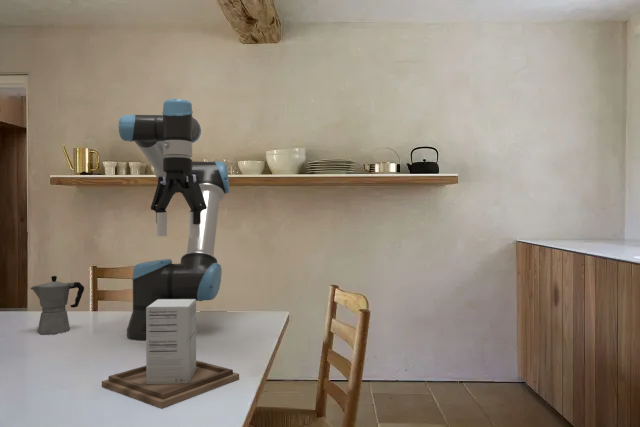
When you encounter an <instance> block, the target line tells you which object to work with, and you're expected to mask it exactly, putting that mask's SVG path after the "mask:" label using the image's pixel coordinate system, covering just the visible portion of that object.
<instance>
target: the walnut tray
mask: <svg viewBox="0 0 640 427" xmlns="http://www.w3.org/2000/svg"><path fill="white" fill-rule="evenodd" d="M238 380H240V373H237V372H235V371H234V370H233V369H231V368H228V367H223V366H219V365H216V364H212V363H207V362H204V361H200V360H196V371H195V373H194V375H193V377H192V378H191V380H190V382H189V383H188V384H146V365H143V366H140V367H136V368H132V369H130V370H126V371H122V372H118V373H115V374H112V375H109V376H108V379H105V380H101V387H102V388H104V389H107V390H108V391H109V390H110V391H112V392H116V393H118V394H119V395H120V394H121V395H123V396H126V397H128V398H132V399H135V400H137V401H141V402H143V403H146V404H148V405H151V406H154V407H156V408H159V409H163V408H167V407H170V406H173V405H174V404H177V403H180V402H182V401H185V400H188V399H190V398H193V397H196V396H198V395H201V394H204V393H206V392H209V391H211V390H214V389H216V388H219V387H222V386H225V385H227V384H230V383H233V382H235V381H238Z"/></svg>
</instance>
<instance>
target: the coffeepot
mask: <svg viewBox="0 0 640 427" xmlns="http://www.w3.org/2000/svg"><path fill="white" fill-rule="evenodd" d="M50 278H51V281H50V282H47V283H42V284H38V285H34V286H32V287H30V290H31V291H33V292H34V294H36V296H37V297H38V299H39V304H40V307H41V313H40V316H39V321H38V327H37V333H38V334H39V335H42V336H43V335H44V336H47V335H48V336H51V335H50V334H53V335H59V334H58V333H60V334H63V333H62V332H65V333H67V332H69V331H70V330H71V327H70V321H69V316H68V311H67V310H66V305H68V301H69V300H68V299H69V295H70V293H69V292H70V289H72V290H73V289H78V290H77V292H76V296H75V299H74V304H70V308H71V309H72V308H78V307H79V304H80V302H81V298H82V296H83V293H84V291H85V287H84V286H83V284H82V283H80V282H79V281H74V282H61V281H57V279H58V276H56V275H53V276H50ZM68 330H69V331H68ZM66 331H67V332H66Z"/></svg>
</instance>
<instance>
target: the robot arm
mask: <svg viewBox="0 0 640 427" xmlns="http://www.w3.org/2000/svg"><path fill="white" fill-rule="evenodd" d="M192 105H193V104H192V102H191V101H190V100H187V99H183V98H169V99H168V98H167V99H166V100H165V101H164V102H163V106H162V111H161V112H162V113H161V114H135V113H134V114H124V115H122V116H120V117H119V120H118V133H119V137H120V139H121V140H122V141H124V142H130V143H132V142H134V143H135V144H136V146H138V148H139V149H140V151H141V152H142V154H143V155H144V156H145V158H146V159H147V160H148V162H149V163H150V165H151V166H152V168H153V171H154V172H153V173H154V175H155V177H156V178H157V185H156V189H155V192H154V195H153V199H152V202H151V205H150V210H151V211H154V212H155V213H156V214H155V215H156V216H155V217H156V218H155V220H156V221H155V223H156V237H167V234H168V233H167V232H168V226H167V225H168V219H167V218H168V212H167V210H166V209H167V208H168V206H169V204H170V202H171V200H172V198H173V196H174V195H175V194H178V193H180V194H182V196H183V198H184V199H185V202H186V203H187V205H188V207H189V209H190V210H189V216H188V217H189V218H188V219H189V222H188V223H189V227H188V228H189V234H188V235H189V236H188V242H187V250H186V253H185V254H183V255H182V256H181V259H180V263H173V261H172V259H171V258H169V259H168V258H167V259H166V258H165V259H157V260H152V261H146V262H145V261H144V262H141V263H136V264H135V265H134V266H133V270H132V279H131V280H132V313H131V315H130V318H129V322H128V325H127V328H126V337H127V338H128V339H130V340H131V339H132V340H136V341H146V307H148V306H149V305H151V304H152V303H153V302H155V301H156V300H158V299H196V302H203V301H211V300H214V299H215V298H216V297H217V296H218V294H219V290H220V287H221V282H222V265H221V264H220V263H219V262H218V259H217V258H216V257H215V256H214V254H215V253H214V252H215V244H216V235H217V224H218V215H219V208H220V206H219V205H220V202H221V201H223V199H224V198H225V195H227V194H229V193H230V180H229V173H228V171H229V170H228V166H227V164H226V163H225V162H224V161H216V160H213V161H195V160H194V161H193V159H192V158H193V143H195V142H197V141H199V139H200V137H201V134H202V129H201V124H200V123H199V121H198V120H197V119H196V118H194V117H193V112H194V111H193V106H192Z"/></svg>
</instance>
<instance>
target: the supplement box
mask: <svg viewBox="0 0 640 427" xmlns="http://www.w3.org/2000/svg"><path fill="white" fill-rule="evenodd" d="M145 343H146V344H145V349H146V350H145V353H146V354H145V356H146V357H145V358H146V360H145V362H146V363H145V364H146V365H145V366H146V384H188V383H189V382H190V380H191V378H192V377H193V375H194V373H195V371H196V361H197V301H196V299H158V300H156V301H155V302H153V303H152V304H151V305H149V306H148V307H146V340H145Z"/></svg>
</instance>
